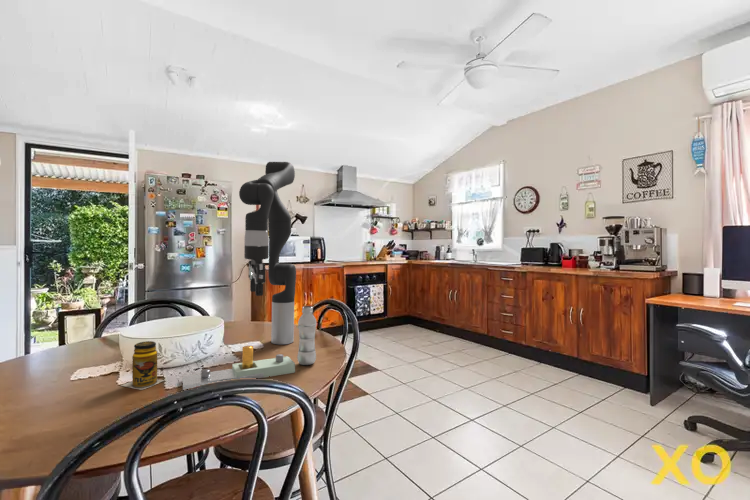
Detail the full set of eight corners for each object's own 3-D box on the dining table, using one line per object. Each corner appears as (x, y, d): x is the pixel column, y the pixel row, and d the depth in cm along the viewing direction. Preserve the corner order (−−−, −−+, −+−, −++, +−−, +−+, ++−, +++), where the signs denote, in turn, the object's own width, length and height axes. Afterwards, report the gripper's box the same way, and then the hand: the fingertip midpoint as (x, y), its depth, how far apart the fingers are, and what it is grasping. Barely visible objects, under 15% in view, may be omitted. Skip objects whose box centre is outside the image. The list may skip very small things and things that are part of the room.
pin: (241, 374, 111) (241, 346, 111) (251, 372, 113) (252, 345, 113) (242, 377, 109) (243, 349, 109) (253, 376, 110) (254, 347, 110)
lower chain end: (182, 380, 105) (182, 369, 105) (258, 369, 116) (258, 358, 116) (182, 390, 98) (183, 378, 98) (263, 377, 109) (263, 366, 109)
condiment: (142, 390, 98) (142, 347, 98) (120, 386, 101) (120, 344, 101) (165, 381, 105) (165, 341, 105) (143, 377, 108) (144, 338, 107)
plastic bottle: (318, 361, 126) (319, 305, 125) (312, 367, 119) (314, 309, 119) (300, 360, 126) (301, 304, 126) (294, 366, 119) (295, 308, 119)
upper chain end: (232, 373, 112) (232, 357, 112) (287, 364, 121) (288, 350, 121) (236, 382, 105) (236, 365, 105) (294, 372, 114) (295, 357, 114)
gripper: (240, 243, 120) (240, 291, 120) (248, 245, 107) (248, 298, 108) (263, 243, 123) (263, 289, 124) (273, 245, 111) (273, 296, 112)
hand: (256, 293), depth 116 cm, fingers open, 8 cm apart
